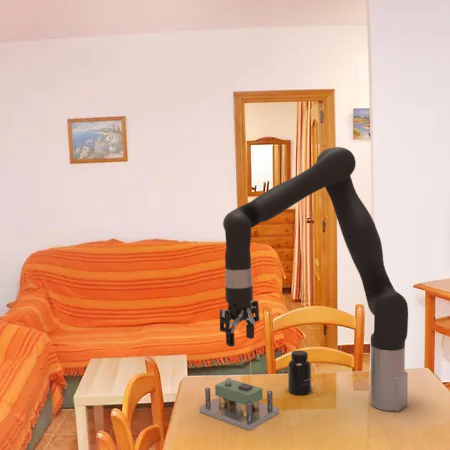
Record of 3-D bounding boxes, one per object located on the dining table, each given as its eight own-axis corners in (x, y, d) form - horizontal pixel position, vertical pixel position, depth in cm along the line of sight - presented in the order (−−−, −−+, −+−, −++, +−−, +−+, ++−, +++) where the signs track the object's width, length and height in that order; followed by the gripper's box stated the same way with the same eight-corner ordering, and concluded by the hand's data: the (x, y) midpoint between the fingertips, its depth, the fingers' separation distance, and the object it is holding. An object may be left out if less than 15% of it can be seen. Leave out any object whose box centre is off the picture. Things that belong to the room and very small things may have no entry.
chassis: (278, 413, 153) (278, 390, 152) (249, 430, 143) (248, 406, 143) (229, 396, 165) (229, 375, 164) (199, 412, 155) (198, 389, 154)
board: (262, 398, 152) (262, 384, 152) (249, 406, 148) (248, 391, 147) (229, 388, 160) (228, 375, 159) (215, 395, 155) (215, 381, 155)
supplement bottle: (310, 396, 164) (310, 357, 163) (287, 394, 165) (286, 356, 164) (311, 387, 171) (311, 349, 169) (289, 386, 172) (288, 348, 171)
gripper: (232, 290, 143) (234, 351, 145) (265, 281, 154) (267, 337, 155) (211, 287, 148) (213, 346, 150) (244, 278, 159) (246, 333, 160)
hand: (240, 341), depth 153 cm, fingers open, 8 cm apart
